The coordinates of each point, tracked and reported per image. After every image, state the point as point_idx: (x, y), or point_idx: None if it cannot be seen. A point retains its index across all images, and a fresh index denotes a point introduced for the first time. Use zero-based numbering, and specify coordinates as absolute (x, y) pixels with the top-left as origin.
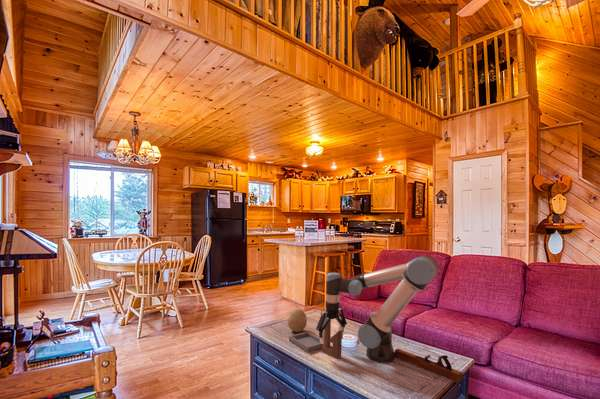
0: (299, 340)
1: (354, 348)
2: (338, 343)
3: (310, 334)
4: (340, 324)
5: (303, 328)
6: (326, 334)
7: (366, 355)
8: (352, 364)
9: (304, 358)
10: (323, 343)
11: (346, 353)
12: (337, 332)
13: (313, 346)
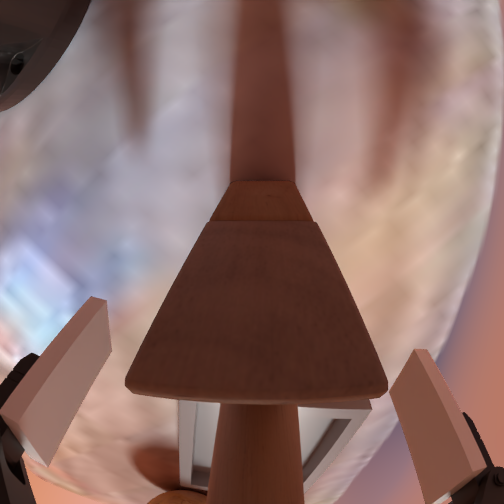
0: None
1: (34, 215)
2: (300, 226)
3: (191, 473)
4: (18, 467)
5: (176, 498)
6: (298, 451)
7: (55, 63)
8: (278, 23)
9: (437, 346)
10: (422, 354)
11: (137, 196)
12: (384, 378)
13: (323, 405)
